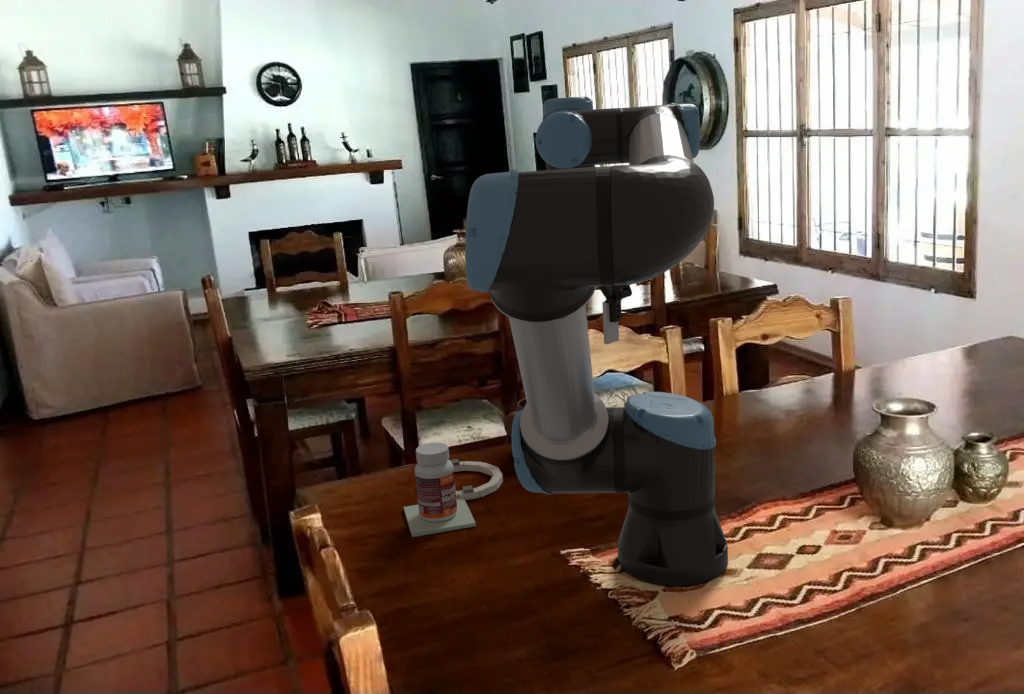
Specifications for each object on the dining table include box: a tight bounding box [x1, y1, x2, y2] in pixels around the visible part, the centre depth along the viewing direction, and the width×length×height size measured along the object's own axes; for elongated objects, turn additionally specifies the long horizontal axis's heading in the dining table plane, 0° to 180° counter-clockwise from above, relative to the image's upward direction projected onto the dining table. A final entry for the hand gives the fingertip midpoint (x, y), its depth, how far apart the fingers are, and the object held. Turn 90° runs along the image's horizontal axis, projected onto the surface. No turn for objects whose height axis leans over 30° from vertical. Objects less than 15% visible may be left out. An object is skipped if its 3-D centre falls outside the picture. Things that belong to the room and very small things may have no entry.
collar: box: [449, 458, 504, 501], centre depth 151 cm, size 14×14×2 cm
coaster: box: [403, 497, 477, 538], centre depth 139 cm, size 10×10×1 cm
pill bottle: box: [414, 441, 457, 522], centre depth 137 cm, size 6×6×11 cm
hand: (578, 336), depth 138 cm, fingers open, 13 cm apart
